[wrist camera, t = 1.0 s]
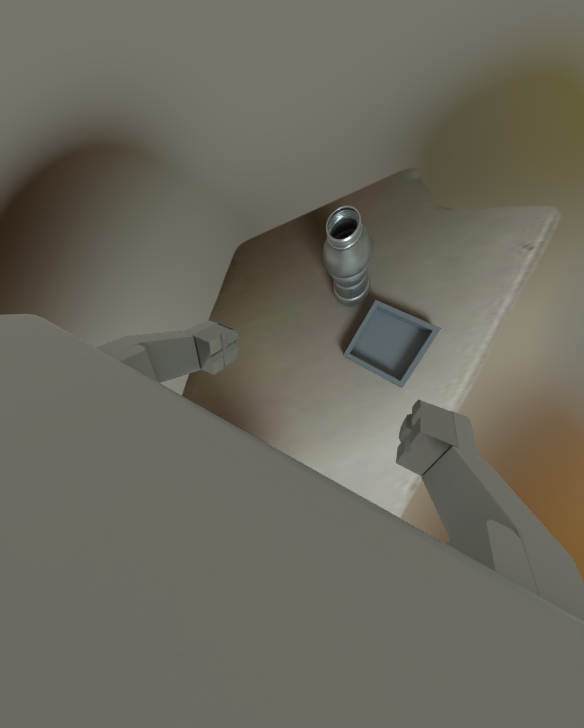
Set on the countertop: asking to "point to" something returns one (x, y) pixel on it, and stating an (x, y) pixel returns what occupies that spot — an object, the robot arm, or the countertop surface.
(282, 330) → the countertop surface
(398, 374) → the holder
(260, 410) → the countertop surface
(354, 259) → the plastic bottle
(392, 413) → the countertop surface
